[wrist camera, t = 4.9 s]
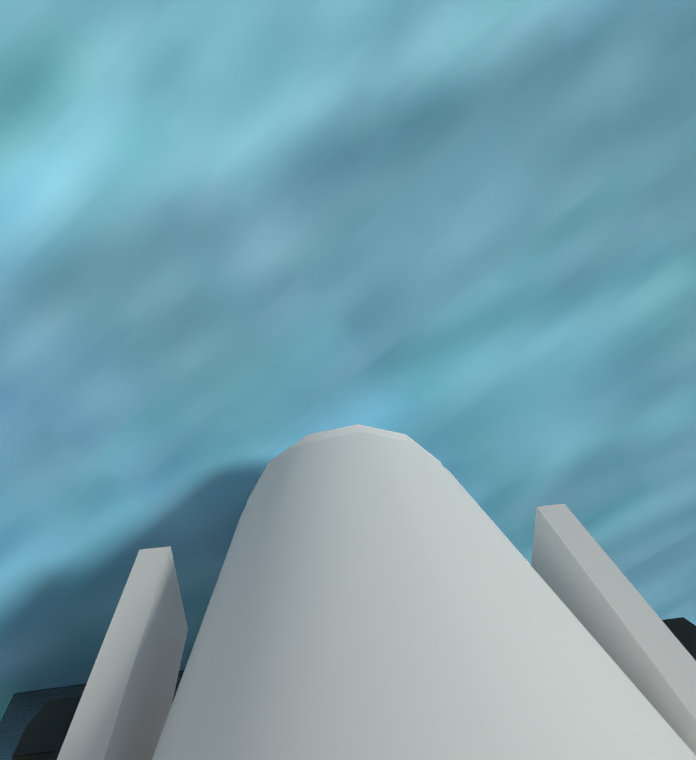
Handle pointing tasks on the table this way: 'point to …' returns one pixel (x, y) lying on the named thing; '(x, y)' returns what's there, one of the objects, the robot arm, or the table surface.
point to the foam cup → (393, 629)
